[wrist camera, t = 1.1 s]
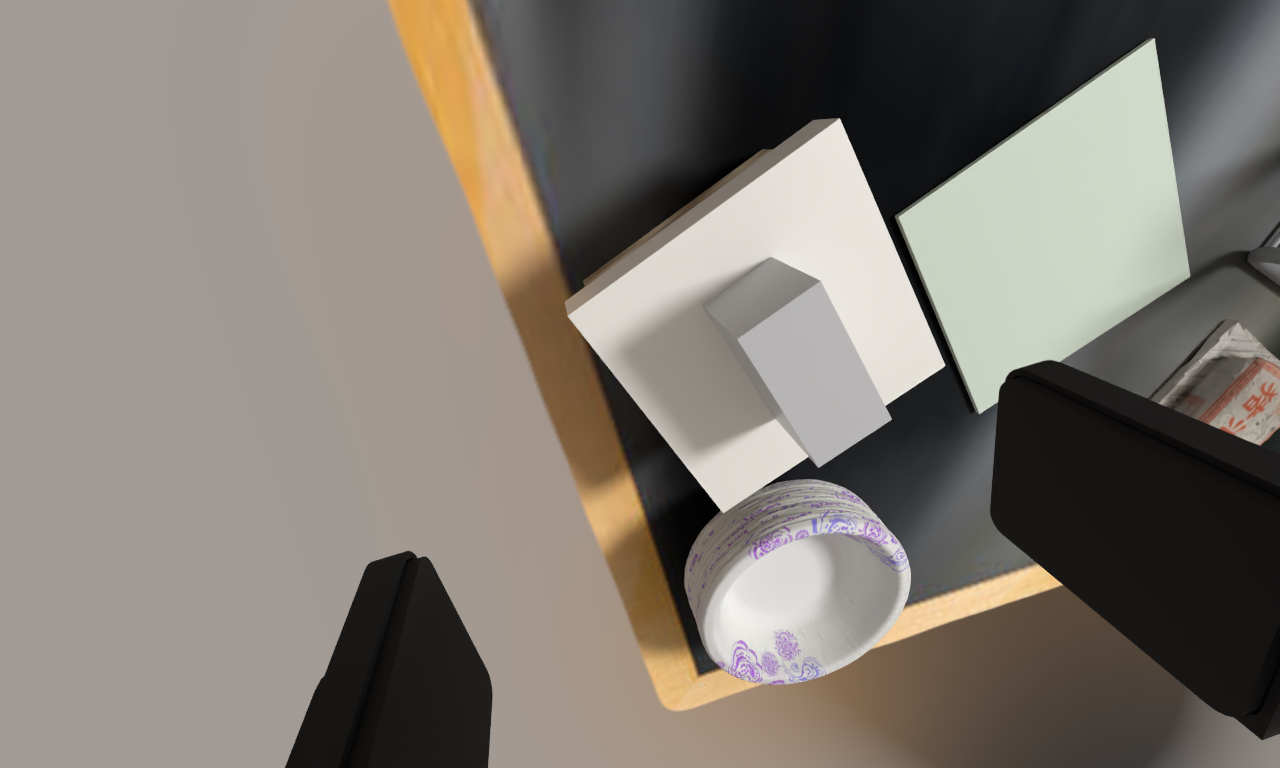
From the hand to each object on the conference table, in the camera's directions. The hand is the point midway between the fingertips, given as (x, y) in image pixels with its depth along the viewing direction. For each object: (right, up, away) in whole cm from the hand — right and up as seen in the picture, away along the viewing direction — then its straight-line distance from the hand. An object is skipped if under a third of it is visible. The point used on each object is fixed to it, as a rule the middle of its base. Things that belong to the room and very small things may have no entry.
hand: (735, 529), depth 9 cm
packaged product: (+45, -1, +40) cm, 60 cm away
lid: (+5, +5, +22) cm, 23 cm away
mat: (+27, +12, +29) cm, 42 cm away
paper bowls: (+9, -10, +36) cm, 38 cm away
